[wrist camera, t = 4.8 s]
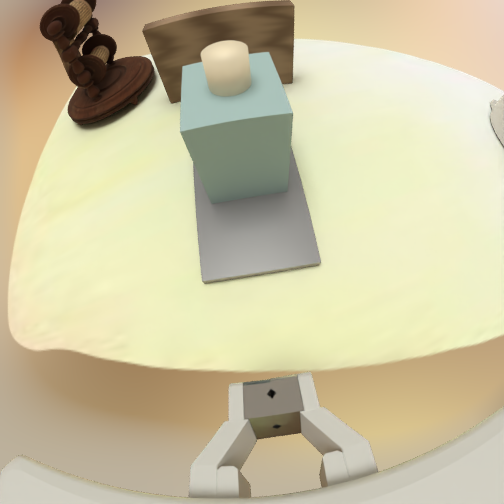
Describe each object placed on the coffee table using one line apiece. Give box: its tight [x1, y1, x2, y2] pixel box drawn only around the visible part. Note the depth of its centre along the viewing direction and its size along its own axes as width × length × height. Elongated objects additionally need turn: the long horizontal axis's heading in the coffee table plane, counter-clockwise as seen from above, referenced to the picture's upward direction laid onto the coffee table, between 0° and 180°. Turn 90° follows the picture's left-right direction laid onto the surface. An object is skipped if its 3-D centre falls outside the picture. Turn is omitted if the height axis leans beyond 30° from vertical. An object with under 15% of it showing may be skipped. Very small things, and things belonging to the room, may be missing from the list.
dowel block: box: [180, 40, 293, 204], centre depth 20 cm, size 7×8×13 cm
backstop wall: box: [143, 0, 294, 103], centre depth 26 cm, size 16×2×12 cm, turn 98°
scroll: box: [40, 0, 154, 125], centre depth 24 cm, size 15×15×20 cm
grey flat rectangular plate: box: [193, 148, 321, 283], centre depth 27 cm, size 10×24×1 cm, turn 8°
